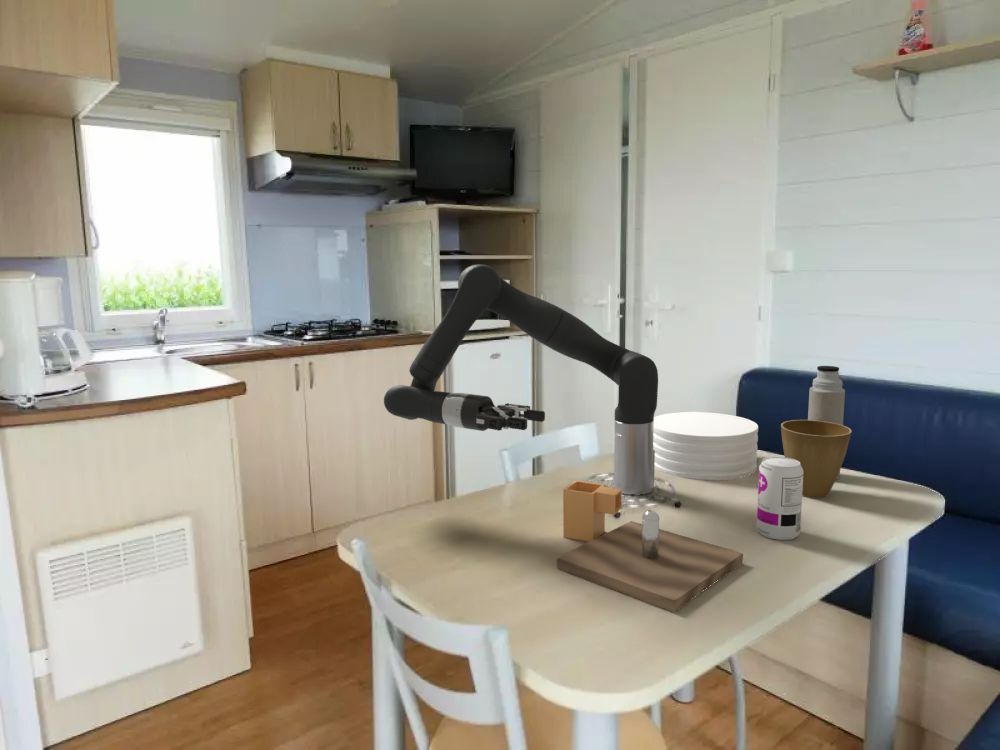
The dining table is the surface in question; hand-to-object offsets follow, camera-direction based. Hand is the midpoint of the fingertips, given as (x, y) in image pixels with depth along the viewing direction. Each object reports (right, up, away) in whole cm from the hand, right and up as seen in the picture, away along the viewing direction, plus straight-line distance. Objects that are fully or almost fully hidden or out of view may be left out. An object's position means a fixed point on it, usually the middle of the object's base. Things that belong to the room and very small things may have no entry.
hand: (535, 420), depth 143 cm
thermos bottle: (+74, -16, +33) cm, 83 cm away
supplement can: (+49, -23, -3) cm, 54 cm away
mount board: (+20, -25, -16) cm, 36 cm away
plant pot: (+66, -19, +20) cm, 72 cm away
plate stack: (+47, -15, +45) cm, 67 cm away
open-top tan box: (+12, -23, -2) cm, 26 cm away
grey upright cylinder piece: (+20, -23, -17) cm, 35 cm away
